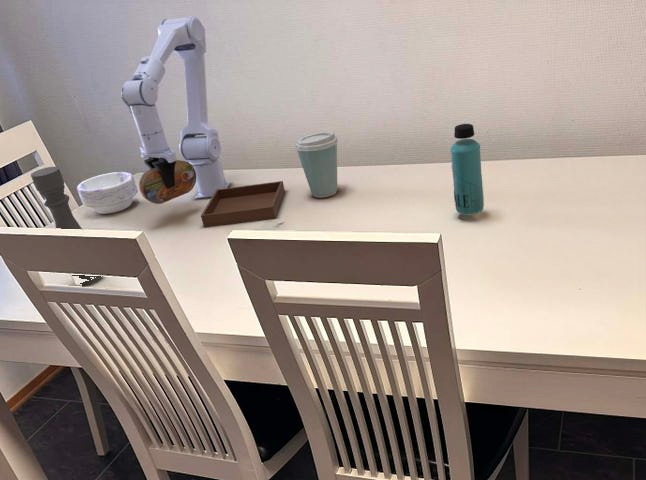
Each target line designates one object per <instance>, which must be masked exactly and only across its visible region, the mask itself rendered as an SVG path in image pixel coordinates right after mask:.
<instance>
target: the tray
mask: <svg viewBox="0 0 646 480" xmlns="http://www.w3.org/2000/svg"><path fill="white" fill-rule="evenodd" d="M285 193H286V190H285V185H284V181H283V180H280V181H270V182H263V183H257V184H249V185H242V186H233V187H228V188H225V189H217V190H216V191H215V193H214V194H213V196H212V197H210V199H209V201H208V202H207V204H206V206H205V208H204V210H203V211H202V213H201V215H200V218H201V223H202V225H203V226H202V227H203V228H208V227H217V226H225V225H232V224H239V223H247V222H249V223H250V222H256V221H265V220H272V219H276V218H277V215H278V212H279V209H280V206H281V204H282V201H283V198H284V196H285Z"/></svg>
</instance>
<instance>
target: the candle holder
mask: <svg viewBox="0 0 646 480" xmlns="http://www.w3.org/2000/svg"><path fill="white" fill-rule="evenodd" d="M30 177H31V180H32V183H33V185H34V187H35V190H36V191H37V192H38V193H39V195H41V196H42V197H43V198H44V201H43V205H44V206H45V207H46V208H48V209H49V212H50V214H51V215H52V216H51V217H52V218H53V221H54V225H55V229H56V228H61V229H82V230H83V228H82V227H81V225H80V224H79V221H77V220H76V218H75V217H74V215H73V212H72V209H71V207H70V204H69V201H70V196H69V195H68V194H65V187H66V186H65V179H64V177H63V174H62V172H61V169H60V167H59V166H47V167H43V168H39V169H37V170H35V171H33V172H31V174H30ZM72 276H79V278H81V279H87V280H89V281H85V282H83V283H80V284H82V286H81V287H86V286H91V285H93V284H96V283H97V282H100V281H101V280H102V278H103V276H102V277H101V276H85V275H72ZM72 276H71V277H72ZM90 277H94V279H92V278H90ZM95 277H96V278H95ZM91 279H92V280H91Z"/></svg>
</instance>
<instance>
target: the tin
mask: <svg viewBox="0 0 646 480" xmlns="http://www.w3.org/2000/svg"><path fill="white" fill-rule="evenodd" d="M195 185H196V172H195V169H194V168H193V166H192V165H191V164H190V163H188V161H187V160H181V159H177V161H176V164H175V186H174V187H171V188H167V187H166V186H165V184H164V182H163V179H162V177H161V175H160V173H159V172H158V170H157V169H156V168H153V169H150V168H149V169H148V170H146V171H145V172H144V173H143V174H142V175H141V176H140V179H139V181H138V187H139V191H140V194H141V196H142V198H144V199H145V200H147V201H148V202H150V203H152V204H155V205H161V204H164V203H166V202H169V201H171V200H174V199H176V198H178V197H181V196H184V195H187V194H188V193H190V192H192V190H193V189H194V187H195Z"/></svg>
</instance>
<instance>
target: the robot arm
mask: <svg viewBox="0 0 646 480" xmlns="http://www.w3.org/2000/svg"><path fill="white" fill-rule="evenodd" d="M157 33H158V36H157V39H156V42H155V44H154V47H153V49H152V51H151V53H150V55H146V56H144V57H141V59H140V60H139V61H140V63H139V65H138V67H137V68H136V70H135V72H134V73H133V75H132V76H131V79H130V80H127V81H125V82H124V83H123V85H122V86H121V96H120V97H121V98H120V99H121V100H122V103H123V104H124V105H125V107H127V109H128V111H129V113H130V114H131V115H132V117H133V119H134V123H135V125H136V129H137V131H138V134H139V138H140V141H141V145H142V146H140V147H139V150H140V153H141V155H140V157H141V158H142V159H144V160H143V163H144V164H145V165H146V166H147V167H148V168H149V170H150V169H153V168H156V169H157V170H158V172H159V173H160V175H161V177H162V179H163V182H164V184H165V186H166V187H167V188H171V187H174V186H175V164H176V161H177V160H178V159H177V155H176V153H175V152H174V151H173V150H172V149H171V147H170V146H169V145H168V141H167V137H166V135H165V131H164V129H163V125H162V122H161V119H160V115H159V111H158V108H157V105H156V103H157V102H158V96H159V94H158V91H159V85H160V84H161V81H162V79H163V78H164V76H165V74H166V67H165V64H166V62H167V61H168V59H169V58H170V56H172V53H174V54H175V55H176V56H178V57H180V58H181V59H182V60H183V64H184V81H185V82H184V83H185V84H184V85H185V99H186V116H187V124H186V125H185V126H184V128H182V129H181V131H180V141H179V145H178V148H179V153H180V155H181V157H182V159H183V160H184V161H186V162H188V163H190V164H191V165H192V166H193V168H194V169H195V172H196V183H195V185H196V187H197V191H198V192H197V194H196V195H195V196H194V198H195V199H196V200H197V199H198V200H199V199H204V198H205V199H206V198H212V196H213V194H214V193H215V191H216V190H217V189H225V188H229V187H230V184H231V183H230V181H226V176H225V173H224V169H223V166H222V162H221V161H220V156H221V152H222V151H221V150H222V146H221V142H220V138H219V132H218V130H216V128H214V127H213V126H212V125H211V124H209V116H208V115H209V114H208V97H207V96H208V95H207V78H206V58H205V57H206V56H205V54H206V52H207V46H206V28H205V27H204V25H203V23H202V21H201V20H200V19H199V17H197V16H196V15H191V16H187V17H179V18H178V17H177V18H169V19H167V18H164V19H162V20H161V21H160V23H159V25H158V26H157Z"/></svg>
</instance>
